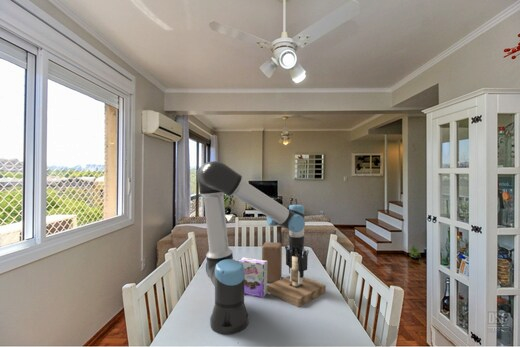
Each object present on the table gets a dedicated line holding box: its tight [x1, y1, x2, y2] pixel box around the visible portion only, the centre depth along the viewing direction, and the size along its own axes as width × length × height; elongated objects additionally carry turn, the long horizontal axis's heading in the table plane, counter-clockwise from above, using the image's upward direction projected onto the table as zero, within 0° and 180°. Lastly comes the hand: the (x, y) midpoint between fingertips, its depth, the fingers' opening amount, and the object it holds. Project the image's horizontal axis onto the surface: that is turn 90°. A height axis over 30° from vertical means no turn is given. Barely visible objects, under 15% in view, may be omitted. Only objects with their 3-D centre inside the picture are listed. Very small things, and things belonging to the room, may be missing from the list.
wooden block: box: [261, 241, 283, 284], centre depth 146 cm, size 10×10×20 cm
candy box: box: [238, 256, 268, 299], centre depth 130 cm, size 14×6×16 cm, turn 68°
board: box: [267, 275, 326, 308], centre depth 131 cm, size 22×20×4 cm
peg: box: [292, 255, 301, 288], centre depth 131 cm, size 5×5×18 cm
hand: (296, 281), depth 131 cm, fingers closed on peg, 4 cm apart
